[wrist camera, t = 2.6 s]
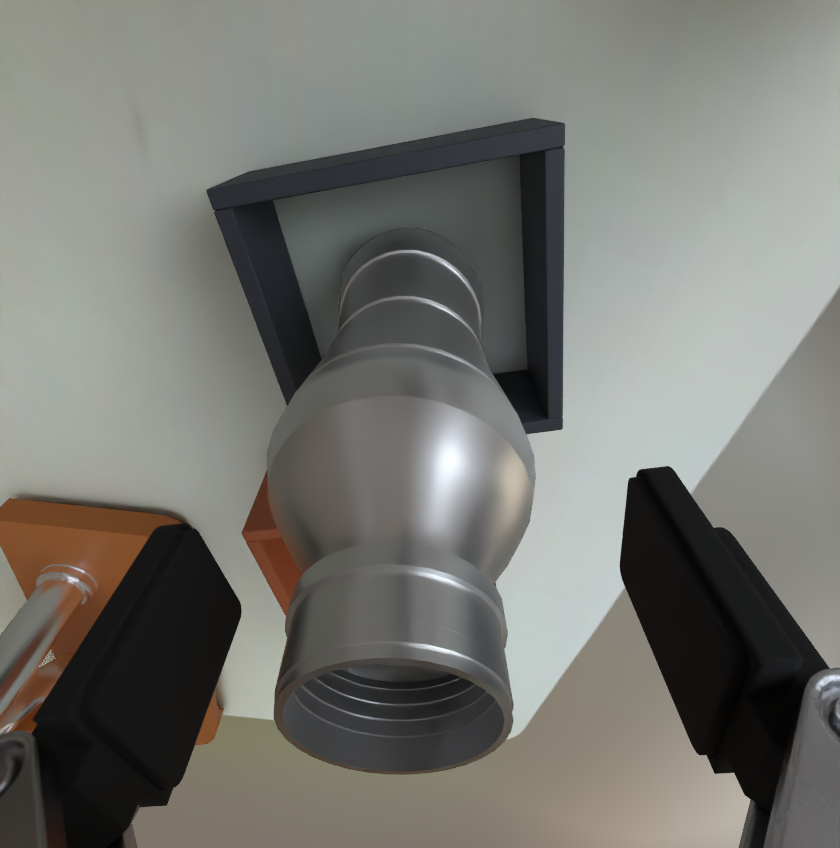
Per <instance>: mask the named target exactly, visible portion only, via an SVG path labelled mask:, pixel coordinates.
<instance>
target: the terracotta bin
mask: <svg viewBox="0 0 840 848" xmlns="http://www.w3.org/2000/svg"><path fill="white" fill-rule="evenodd" d="M242 535H243V537H244V539H245V540H246V541H247V542H246V543H247V545H248V547H249V549H250V550H251V552H252V554H253V556H254V558H255V560H256V562H257V563H258V565H259V567H260V569H261V571H262V573H263V575H264V576H265V578H266V580H267V582H268V584H269V586H270V588H271V589H272V591H273V593H274V595H275V597H276V599H277V601H278V602H279V604H280V606H281V608H282V610H283V612H284V614H285V615H286V614H287V610H288V606H289V602H290V598H291V594H292V592H293V589H294V587H295V584H296V582H297V581H298V580H299V579H300V577H301V576H302V573H301V572H300V570H299V569H298V567H297V566H296V564H295V563H294V561H293V559H292V557H291V555H290V553H289V551H288V549H287V547H286V545H285V543H284V541H283V539H282V537H281V534H280V532H279V530H278V528H277V526H276V524H275V522H274V519H273V517H272V513H271V509H270V505H269V501H268V481H267V472H266V474H265V477H264V479H263V481H262V484H261V486H260V489H259V491H258V494H257V496H256V499H255V501H254V504H253V506H252V508H251V511H250V513H249V516H248V518H247V521H246V523H245V526H244V528H243V531H242ZM494 585H495V586H496V582H495V583H494Z"/></svg>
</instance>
